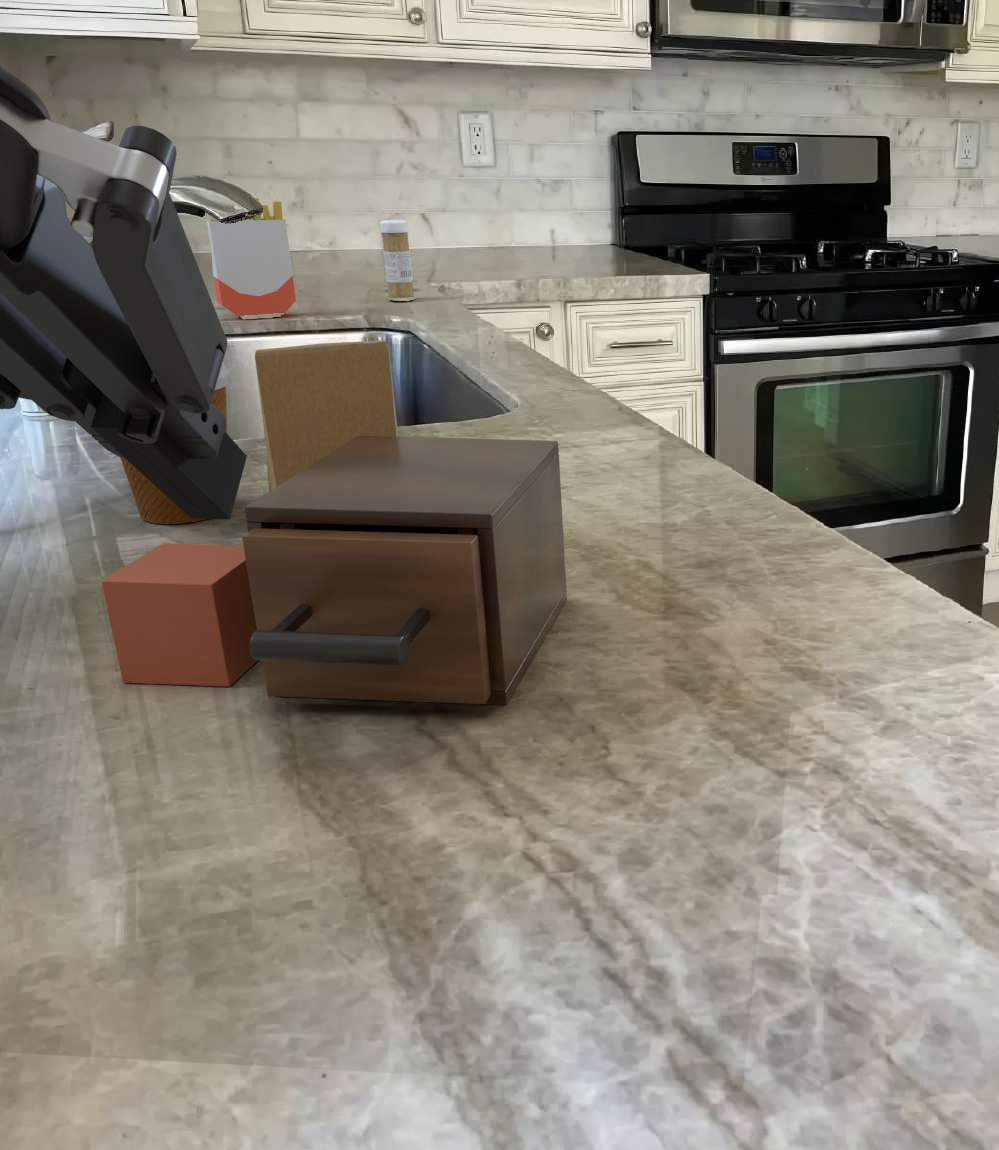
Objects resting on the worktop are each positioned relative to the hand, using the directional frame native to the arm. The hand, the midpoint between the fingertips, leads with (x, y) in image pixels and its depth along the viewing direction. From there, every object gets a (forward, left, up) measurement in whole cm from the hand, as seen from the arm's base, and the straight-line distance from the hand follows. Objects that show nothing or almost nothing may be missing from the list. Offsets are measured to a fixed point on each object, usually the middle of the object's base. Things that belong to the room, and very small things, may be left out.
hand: (219, 486), depth 43 cm
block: (-17, +12, -16) cm, 26 cm away
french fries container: (-107, +111, -16) cm, 155 cm away
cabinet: (-6, +19, -16) cm, 26 cm away
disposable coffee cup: (-39, +32, -16) cm, 53 cm away
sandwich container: (-26, +34, -16) cm, 46 cm away
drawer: (-5, +15, -15) cm, 22 cm away
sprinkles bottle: (-99, +136, -16) cm, 169 cm away
